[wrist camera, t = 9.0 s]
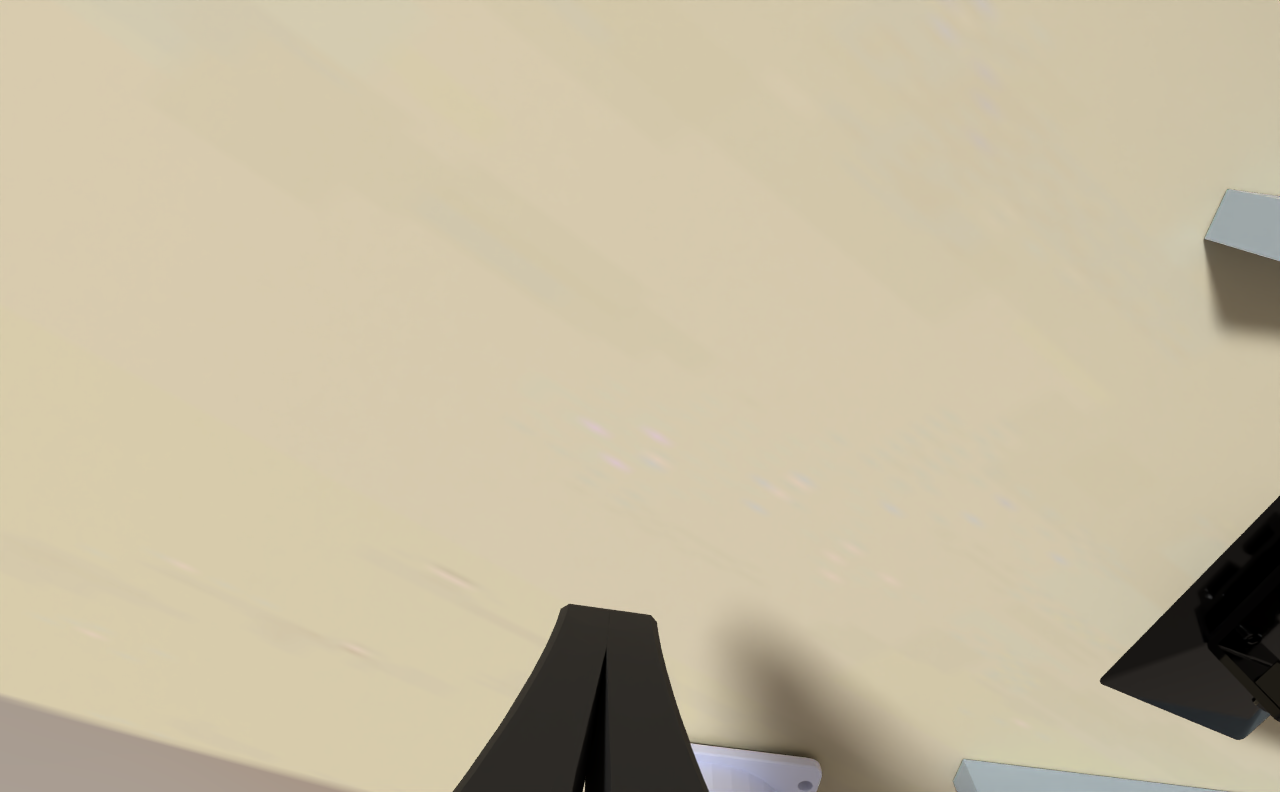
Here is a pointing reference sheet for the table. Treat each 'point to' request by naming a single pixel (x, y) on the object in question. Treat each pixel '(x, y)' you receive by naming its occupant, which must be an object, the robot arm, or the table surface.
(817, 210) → the table surface
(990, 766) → the bay
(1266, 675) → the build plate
